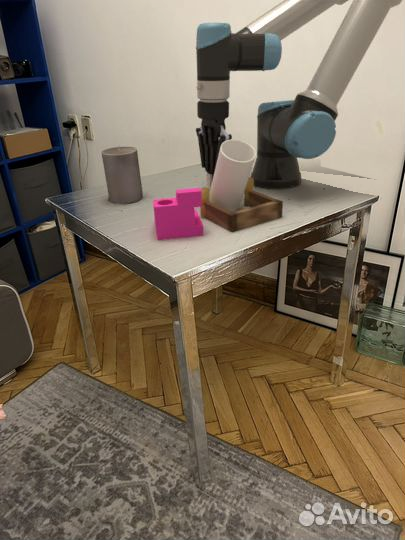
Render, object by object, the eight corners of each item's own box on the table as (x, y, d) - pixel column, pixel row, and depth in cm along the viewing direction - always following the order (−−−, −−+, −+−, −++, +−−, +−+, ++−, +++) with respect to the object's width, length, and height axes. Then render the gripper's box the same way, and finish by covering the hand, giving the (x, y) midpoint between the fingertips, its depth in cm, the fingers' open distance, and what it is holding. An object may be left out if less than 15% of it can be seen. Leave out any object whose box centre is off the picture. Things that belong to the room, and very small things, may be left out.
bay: (249, 202, 107) (249, 176, 104) (283, 216, 97) (284, 188, 94) (198, 216, 100) (197, 188, 97) (229, 232, 90) (229, 202, 87)
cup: (237, 217, 100) (253, 165, 88) (205, 209, 100) (217, 156, 88) (241, 196, 105) (258, 144, 93) (211, 188, 105) (223, 135, 93)
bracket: (203, 235, 90) (201, 191, 85) (157, 240, 88) (152, 195, 84) (196, 217, 100) (193, 176, 95) (155, 221, 99) (150, 180, 94)
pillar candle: (118, 192, 121) (110, 141, 113) (148, 194, 118) (142, 141, 111) (103, 203, 113) (93, 149, 105) (135, 205, 110) (127, 149, 103)
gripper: (185, 98, 97) (188, 192, 109) (214, 104, 88) (213, 206, 99) (212, 96, 101) (211, 188, 112) (242, 101, 91) (238, 201, 102)
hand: (212, 196), depth 105 cm, fingers closed
